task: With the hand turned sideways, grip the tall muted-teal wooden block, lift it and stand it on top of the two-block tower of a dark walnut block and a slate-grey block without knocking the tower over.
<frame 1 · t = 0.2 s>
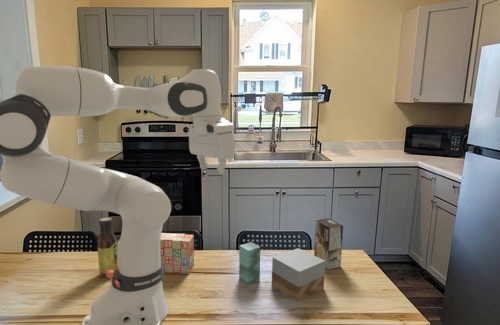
hand: (212, 170, 103), 39 cm above the table, tool pointing down, fingers open, 8 cm apart
teal block: (249, 279, 115), on the table
coffee box: (327, 263, 127), on the table
sauce bottle: (109, 274, 117), on the table
tower base: (297, 287, 111), on the table, touching tower top
stack of blocks: (163, 268, 122), on the table
tower top: (298, 273, 110), point 5 cm above the table, touching tower base
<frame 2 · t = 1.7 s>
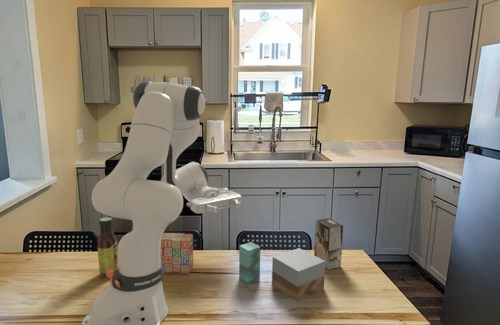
hand: (228, 207, 121), 22 cm above the table, tool horizontal, fingers open, 8 cm apart
nothing on the table moved.
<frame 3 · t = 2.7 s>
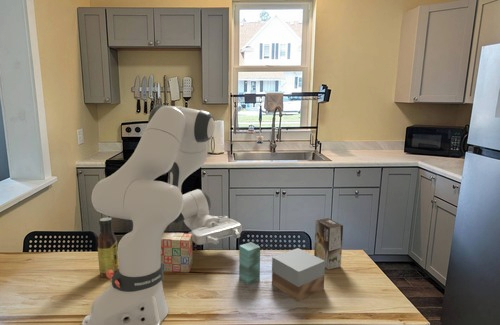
hand: (228, 238, 124), 10 cm above the table, tool horizontal, fingers open, 8 cm apart
nothing on the table moved.
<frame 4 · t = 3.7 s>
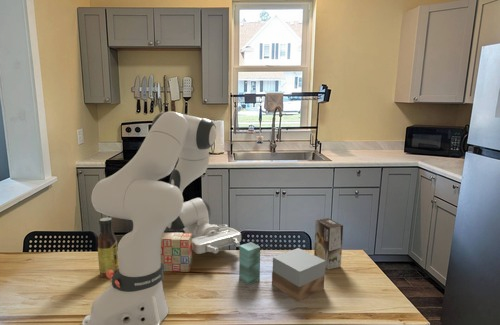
hand: (227, 247, 124), 7 cm above the table, tool horizontal, fingers open, 8 cm apart
nothing on the table moved.
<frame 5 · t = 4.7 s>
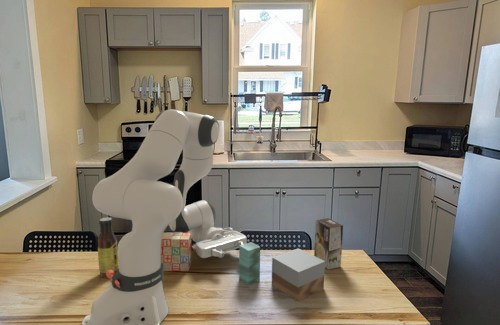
hand: (233, 252, 121), 7 cm above the table, tool horizontal, fingers open, 8 cm apart
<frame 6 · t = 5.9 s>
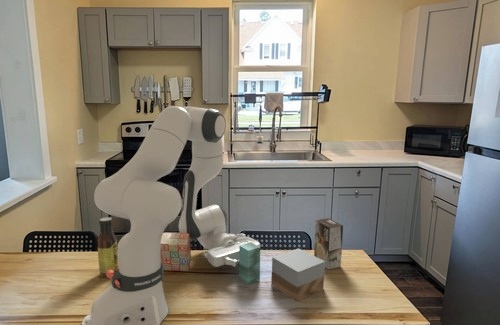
hand: (247, 260, 114), 7 cm above the table, tool horizontal, fingers open, 8 cm apart
stack of blocks: (161, 264, 123), point 1 cm above the table
everything else where it was.
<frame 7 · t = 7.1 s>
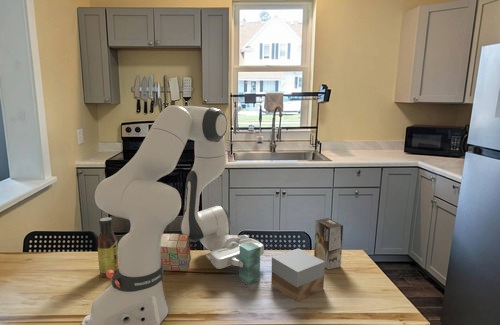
hand: (251, 262, 113), 7 cm above the table, tool horizontal, fingers closed on teal block, 5 cm apart
teal block: (249, 279, 115), on the table, touching gripper
when the fingers open (18 cm above the table, at t = 13.0 s): teal block drops 2 cm, resting on tower top.
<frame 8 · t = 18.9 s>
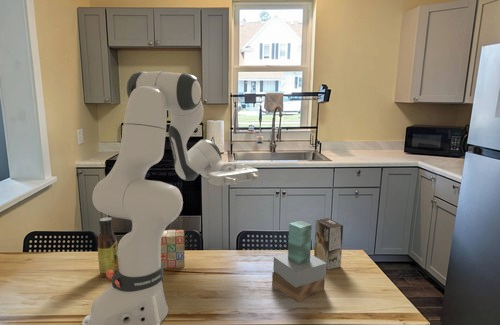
hand: (246, 180, 121), 32 cm above the table, tool horizontal, fingers open, 8 cm apart
teal block: (298, 259, 109), point 10 cm above the table, touching tower top
stack of blocks: (155, 265, 124), on the table
tower top: (299, 274, 109), point 5 cm above the table, touching teal block, tower base
everything else where it was.
at the end: teal block inside the target area on the tower top (0.2 cm from its centre), point 5.0 cm above the tower top's base; teal block tilted 0°; tower top 0.3 cm off-centre on the tower base, point 5.0 cm above the tower base's base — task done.
